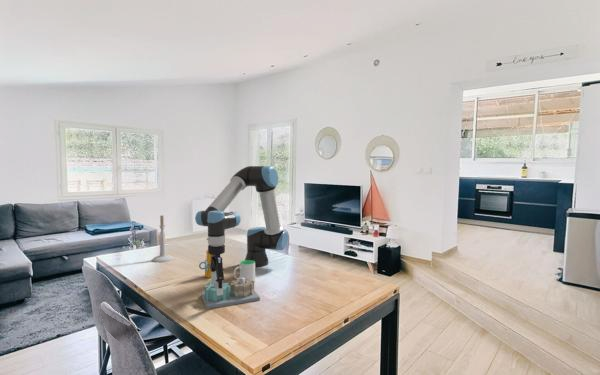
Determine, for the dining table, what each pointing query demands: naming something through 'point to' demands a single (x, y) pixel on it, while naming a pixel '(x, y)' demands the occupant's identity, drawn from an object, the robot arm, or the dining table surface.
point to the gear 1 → (212, 292)
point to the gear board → (229, 298)
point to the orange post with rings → (207, 265)
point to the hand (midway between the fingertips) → (217, 289)
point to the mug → (246, 270)
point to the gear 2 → (242, 288)
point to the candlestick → (162, 245)
